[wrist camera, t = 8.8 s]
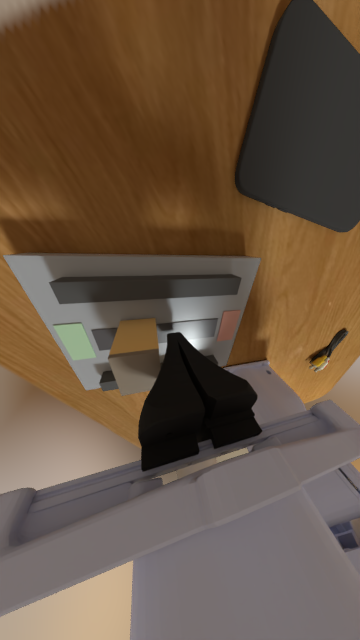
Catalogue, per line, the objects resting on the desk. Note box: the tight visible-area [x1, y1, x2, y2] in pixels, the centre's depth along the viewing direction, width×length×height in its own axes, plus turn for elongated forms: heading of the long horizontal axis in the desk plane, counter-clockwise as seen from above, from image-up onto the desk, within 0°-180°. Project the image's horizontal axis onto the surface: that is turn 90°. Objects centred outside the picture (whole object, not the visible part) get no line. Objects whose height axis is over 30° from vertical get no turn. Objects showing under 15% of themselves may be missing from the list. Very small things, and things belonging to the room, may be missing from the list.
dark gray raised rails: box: [49, 274, 242, 391], centre depth 12 cm, size 13×11×1 cm
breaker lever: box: [108, 318, 160, 396], centre depth 11 cm, size 3×4×4 cm
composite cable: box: [309, 330, 348, 372], centre depth 26 cm, size 10×5×2 cm, turn 158°
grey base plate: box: [3, 253, 261, 390], centre depth 14 cm, size 18×14×2 cm
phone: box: [235, 0, 360, 232], centre depth 10 cm, size 7×1×15 cm
